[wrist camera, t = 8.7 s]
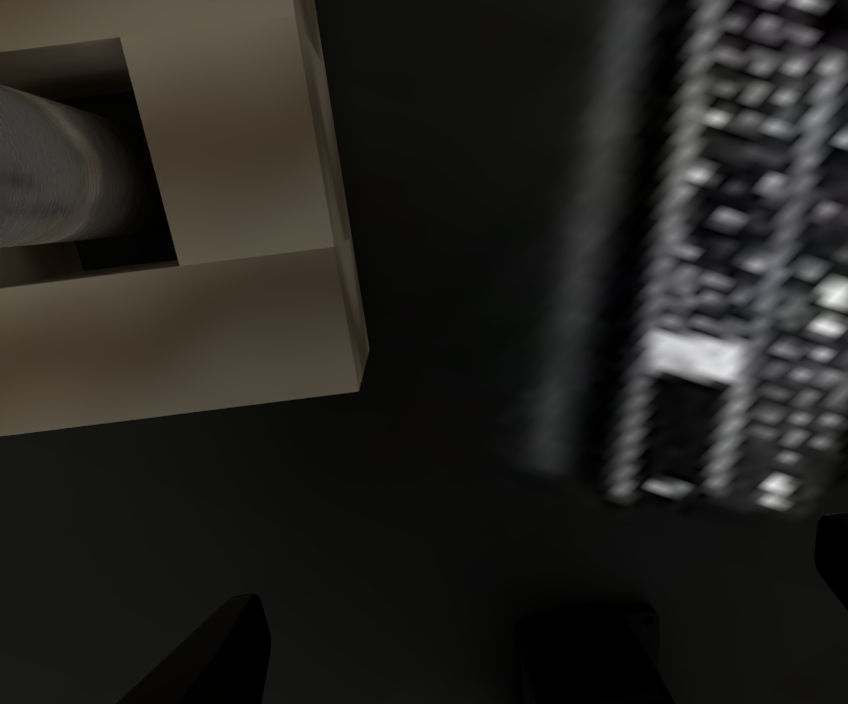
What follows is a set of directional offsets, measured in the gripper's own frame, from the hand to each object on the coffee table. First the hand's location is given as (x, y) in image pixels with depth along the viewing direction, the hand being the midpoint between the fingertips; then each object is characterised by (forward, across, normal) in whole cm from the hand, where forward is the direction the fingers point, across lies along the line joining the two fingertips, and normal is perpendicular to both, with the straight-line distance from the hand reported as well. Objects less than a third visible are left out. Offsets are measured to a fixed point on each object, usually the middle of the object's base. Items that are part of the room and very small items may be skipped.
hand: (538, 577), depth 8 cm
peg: (+12, +10, -8) cm, 18 cm away
